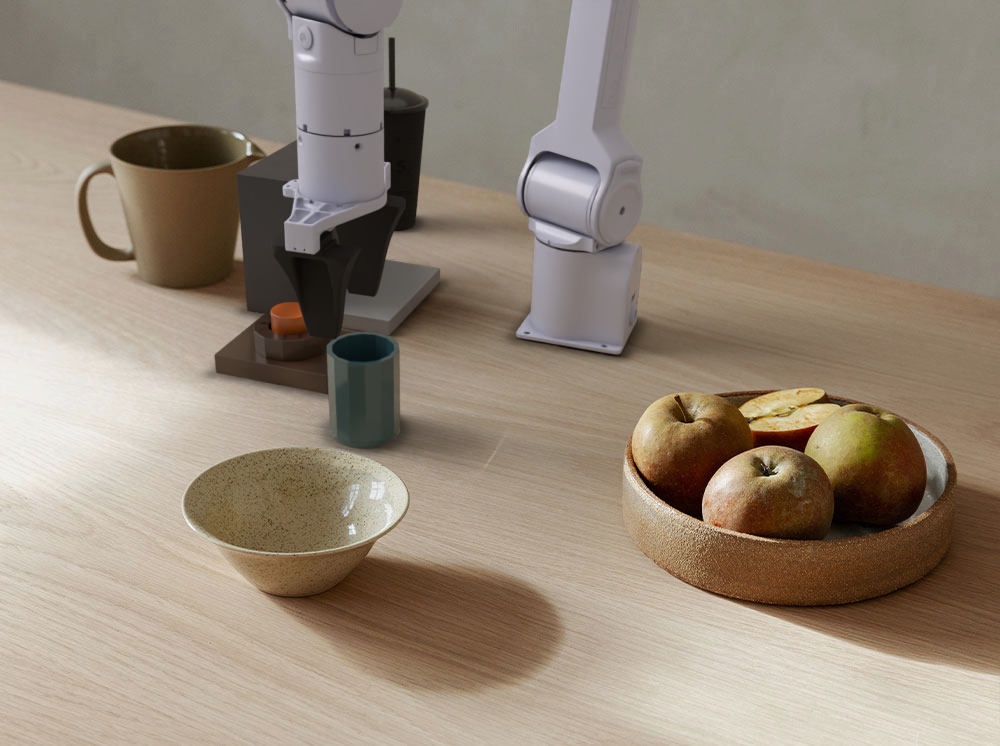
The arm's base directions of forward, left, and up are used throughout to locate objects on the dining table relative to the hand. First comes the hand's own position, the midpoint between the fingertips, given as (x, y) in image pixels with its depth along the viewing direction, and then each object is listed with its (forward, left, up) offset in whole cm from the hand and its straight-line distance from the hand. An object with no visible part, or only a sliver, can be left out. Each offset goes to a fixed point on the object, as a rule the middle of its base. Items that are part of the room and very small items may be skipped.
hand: (344, 313), depth 79 cm
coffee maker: (+10, -22, -10) cm, 26 cm away
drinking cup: (+14, -42, -10) cm, 45 cm away
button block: (+9, -8, -10) cm, 15 cm away
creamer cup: (-1, 0, -10) cm, 10 cm away
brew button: (+9, -8, -6) cm, 13 cm away
